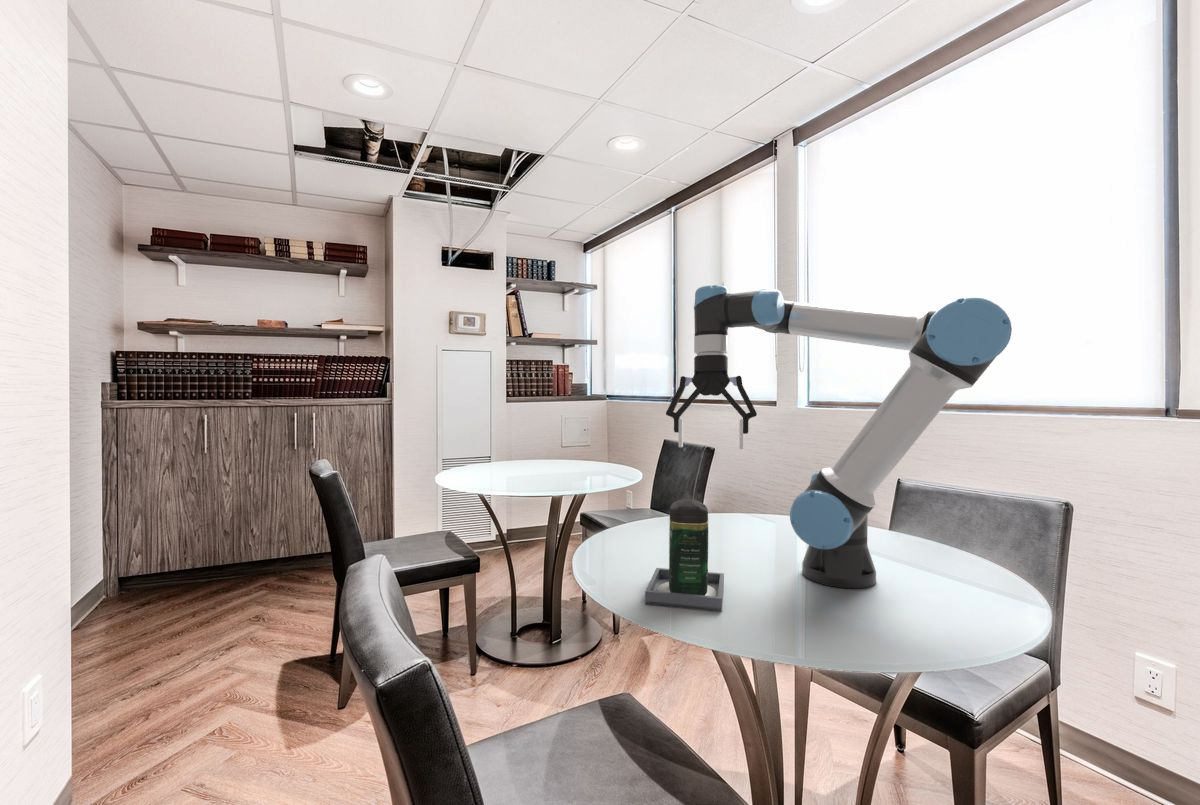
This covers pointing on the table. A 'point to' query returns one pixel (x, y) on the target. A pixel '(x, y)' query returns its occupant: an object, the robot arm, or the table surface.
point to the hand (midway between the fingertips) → (710, 447)
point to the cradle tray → (662, 596)
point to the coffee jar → (688, 547)
